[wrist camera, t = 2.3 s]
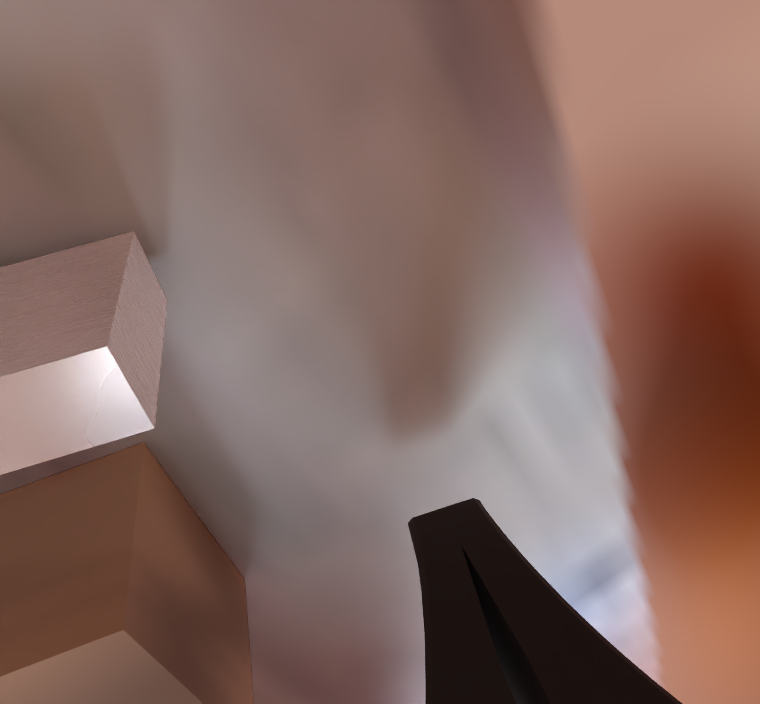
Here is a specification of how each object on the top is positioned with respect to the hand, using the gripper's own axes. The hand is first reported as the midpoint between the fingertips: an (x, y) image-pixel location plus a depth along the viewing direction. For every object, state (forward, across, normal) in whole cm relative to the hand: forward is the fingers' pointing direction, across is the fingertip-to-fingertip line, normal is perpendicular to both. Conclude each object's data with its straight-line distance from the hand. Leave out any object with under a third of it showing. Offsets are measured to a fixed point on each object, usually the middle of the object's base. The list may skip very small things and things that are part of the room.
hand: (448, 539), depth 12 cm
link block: (+2, +8, 0) cm, 8 cm away
